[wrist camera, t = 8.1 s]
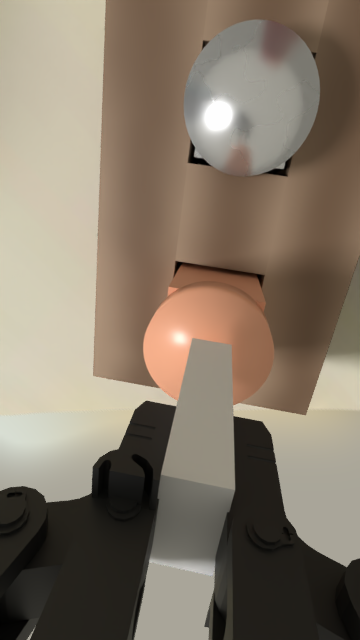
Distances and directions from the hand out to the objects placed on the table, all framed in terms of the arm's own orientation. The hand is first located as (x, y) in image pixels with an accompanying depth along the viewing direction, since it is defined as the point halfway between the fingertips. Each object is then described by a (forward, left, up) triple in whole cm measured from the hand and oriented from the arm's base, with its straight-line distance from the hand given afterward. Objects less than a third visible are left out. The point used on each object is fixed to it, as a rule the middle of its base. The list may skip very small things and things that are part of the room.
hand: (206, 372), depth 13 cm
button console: (0, +5, -15) cm, 16 cm away
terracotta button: (0, 0, -9) cm, 9 cm away
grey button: (0, +10, -13) cm, 16 cm away
